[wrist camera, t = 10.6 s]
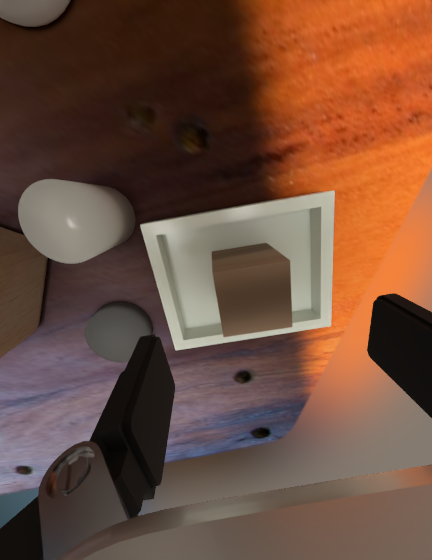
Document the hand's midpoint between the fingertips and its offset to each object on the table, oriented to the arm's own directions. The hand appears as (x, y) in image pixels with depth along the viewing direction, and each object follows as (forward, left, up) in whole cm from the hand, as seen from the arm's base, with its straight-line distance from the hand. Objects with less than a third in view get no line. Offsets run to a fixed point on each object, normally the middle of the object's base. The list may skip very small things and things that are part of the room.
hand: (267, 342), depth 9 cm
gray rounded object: (+5, -13, -12) cm, 18 cm away
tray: (+1, 0, -12) cm, 12 cm away
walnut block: (+1, 0, -11) cm, 11 cm away
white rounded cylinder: (-6, -11, -12) cm, 17 cm away
